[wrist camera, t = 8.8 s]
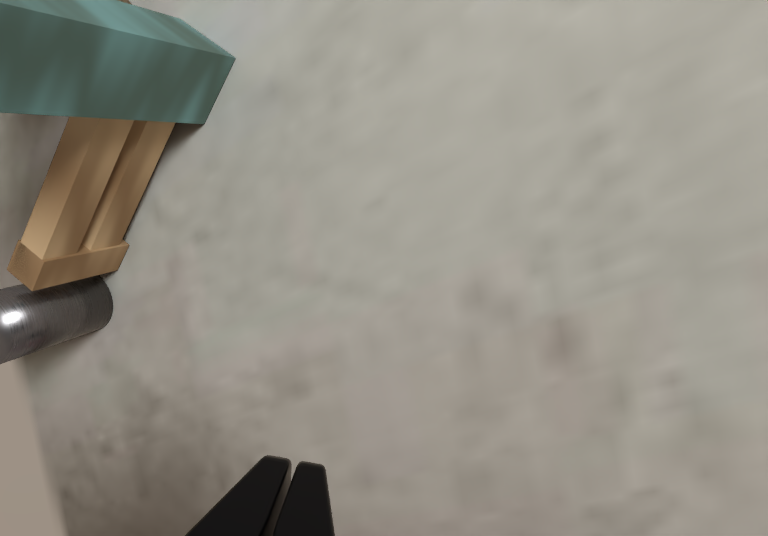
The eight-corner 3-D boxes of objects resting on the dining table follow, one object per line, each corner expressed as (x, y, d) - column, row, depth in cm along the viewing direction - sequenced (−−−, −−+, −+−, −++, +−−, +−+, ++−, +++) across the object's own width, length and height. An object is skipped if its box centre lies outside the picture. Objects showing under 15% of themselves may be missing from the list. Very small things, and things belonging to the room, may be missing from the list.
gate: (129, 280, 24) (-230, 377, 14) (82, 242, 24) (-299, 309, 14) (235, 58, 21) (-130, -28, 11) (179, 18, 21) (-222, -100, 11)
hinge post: (122, 317, 24) (20, 351, 20) (81, 338, 25) (-24, 376, 21) (95, 260, 24) (-13, 284, 20) (55, 284, 25) (-56, 311, 21)
